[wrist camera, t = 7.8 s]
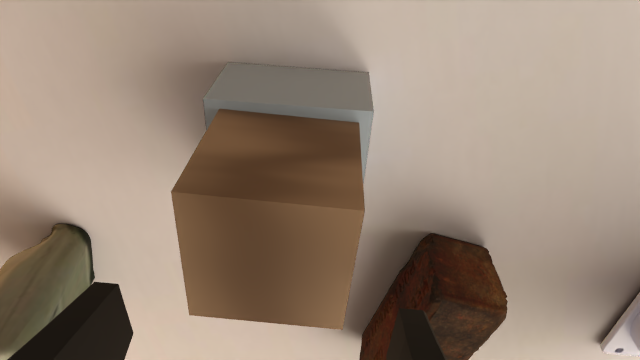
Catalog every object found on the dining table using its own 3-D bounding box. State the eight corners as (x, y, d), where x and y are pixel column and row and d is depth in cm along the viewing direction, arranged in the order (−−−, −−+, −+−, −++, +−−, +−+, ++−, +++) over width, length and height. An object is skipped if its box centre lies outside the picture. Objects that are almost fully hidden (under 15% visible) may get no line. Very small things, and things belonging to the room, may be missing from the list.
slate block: (368, 70, 18) (373, 111, 15) (354, 184, 21) (355, 238, 18) (229, 60, 18) (202, 98, 15) (237, 175, 21) (217, 227, 18)
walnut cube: (359, 122, 15) (364, 210, 11) (343, 228, 18) (342, 329, 14) (219, 108, 15) (170, 192, 11) (225, 216, 18) (189, 314, 14)
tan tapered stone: (139, 283, 26) (70, 414, 20) (71, 297, 27) (-16, 426, 21) (84, 214, 23) (-20, 343, 17) (10, 234, 24) (-115, 361, 18)
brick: (421, 226, 23) (435, 295, 19) (488, 244, 23) (515, 315, 19) (356, 337, 29) (357, 407, 25) (410, 350, 29) (420, 420, 25)
